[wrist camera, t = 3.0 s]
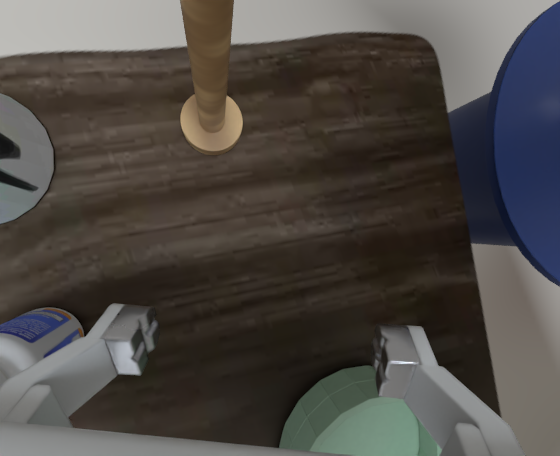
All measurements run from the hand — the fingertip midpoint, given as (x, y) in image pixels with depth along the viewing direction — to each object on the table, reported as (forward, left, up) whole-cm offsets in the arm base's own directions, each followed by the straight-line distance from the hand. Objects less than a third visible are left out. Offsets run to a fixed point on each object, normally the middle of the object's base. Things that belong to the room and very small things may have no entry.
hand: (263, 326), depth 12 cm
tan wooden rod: (-2, -12, -16) cm, 21 cm away
